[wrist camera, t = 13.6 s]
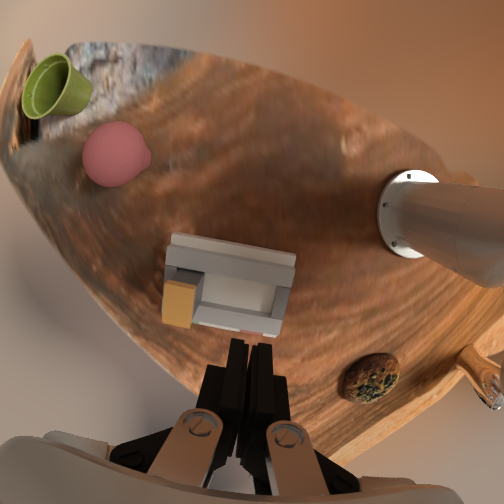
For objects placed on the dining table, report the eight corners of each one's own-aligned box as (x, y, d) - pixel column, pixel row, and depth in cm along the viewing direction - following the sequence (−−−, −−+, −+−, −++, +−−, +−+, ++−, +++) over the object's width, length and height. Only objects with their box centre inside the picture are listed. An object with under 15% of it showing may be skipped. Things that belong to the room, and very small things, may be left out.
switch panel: (294, 253, 37) (298, 259, 34) (275, 332, 40) (276, 343, 37) (174, 231, 36) (168, 235, 33) (167, 311, 39) (160, 321, 36)
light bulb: (177, 143, 33) (140, 127, 22) (155, 192, 35) (111, 199, 23) (133, 125, 33) (86, 108, 21) (113, 173, 34) (61, 174, 23)
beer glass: (449, 374, 42) (485, 418, 28) (457, 347, 41) (499, 390, 26) (472, 364, 42) (508, 403, 28) (480, 338, 40) (521, 375, 26)
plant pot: (112, 92, 31) (80, 76, 23) (70, 138, 33) (33, 133, 24) (87, 59, 29) (57, 41, 21) (49, 102, 31) (15, 93, 23)
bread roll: (363, 344, 40) (376, 364, 35) (405, 353, 42) (419, 370, 38) (328, 392, 43) (336, 412, 38) (372, 396, 45) (382, 414, 41)
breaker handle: (205, 268, 35) (193, 289, 28) (201, 302, 37) (189, 328, 30) (181, 263, 35) (164, 283, 28) (178, 297, 36) (162, 322, 30)
